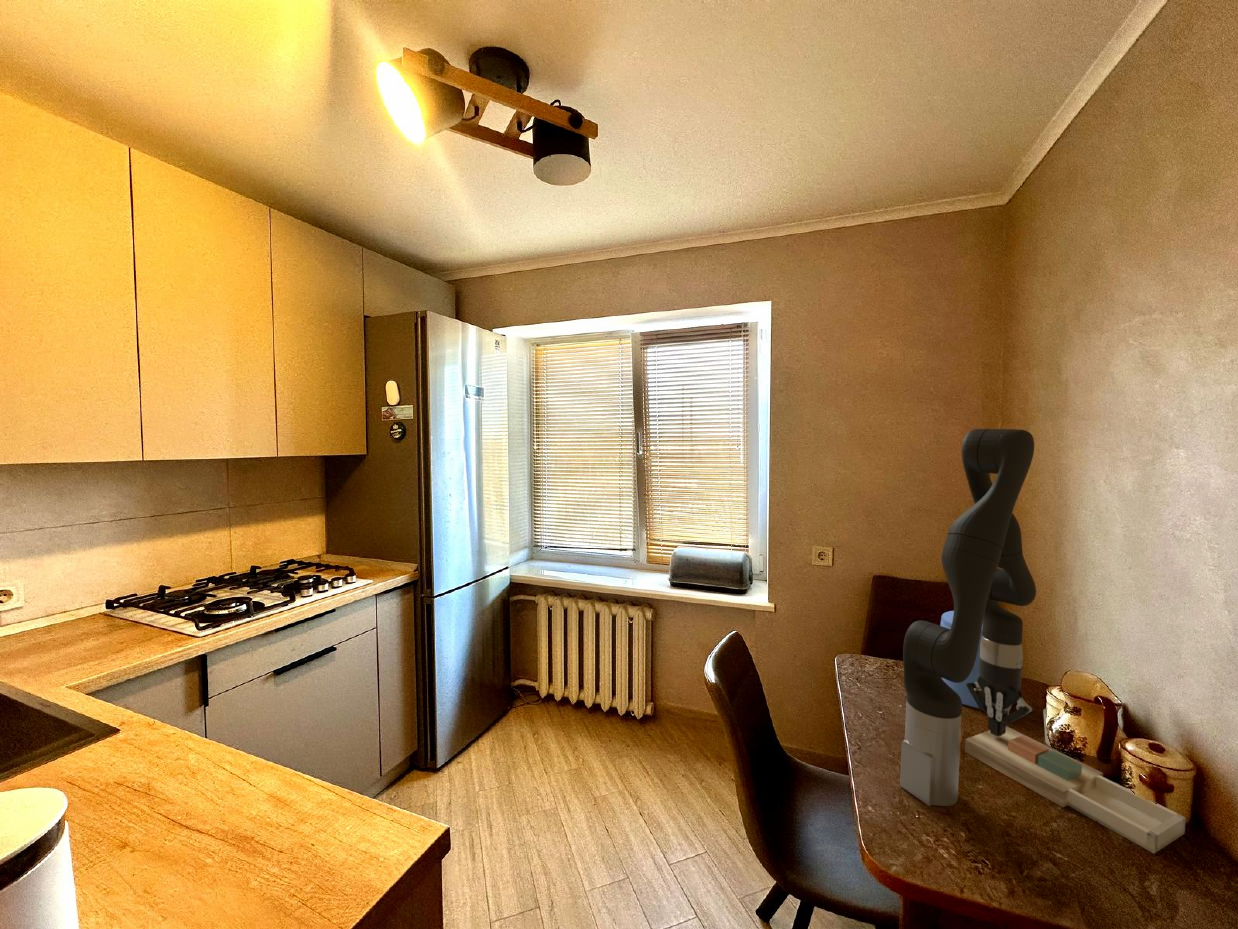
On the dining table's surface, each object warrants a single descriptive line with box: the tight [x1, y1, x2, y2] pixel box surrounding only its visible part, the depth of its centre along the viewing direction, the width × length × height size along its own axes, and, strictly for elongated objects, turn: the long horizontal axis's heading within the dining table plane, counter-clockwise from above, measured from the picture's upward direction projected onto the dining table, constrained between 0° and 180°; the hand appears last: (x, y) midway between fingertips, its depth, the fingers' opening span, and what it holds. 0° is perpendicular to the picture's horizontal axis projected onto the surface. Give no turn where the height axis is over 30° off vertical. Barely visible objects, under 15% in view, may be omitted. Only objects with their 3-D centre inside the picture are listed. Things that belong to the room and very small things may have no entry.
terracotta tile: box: [1008, 736, 1049, 764], centre depth 106 cm, size 5×5×2 cm
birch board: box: [964, 725, 1104, 808], centre depth 105 cm, size 14×18×3 cm
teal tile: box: [1038, 750, 1082, 781], centre depth 101 cm, size 5×5×2 cm
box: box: [1067, 775, 1187, 854], centre depth 92 cm, size 11×12×3 cm
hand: (996, 734), depth 111 cm, fingers closed
